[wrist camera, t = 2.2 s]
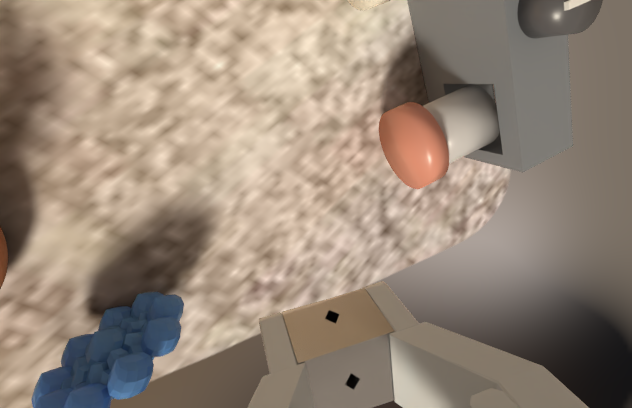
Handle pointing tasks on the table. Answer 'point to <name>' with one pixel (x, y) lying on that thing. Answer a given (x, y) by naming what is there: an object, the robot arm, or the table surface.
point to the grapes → (113, 355)
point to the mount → (498, 74)
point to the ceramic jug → (3, 257)
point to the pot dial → (556, 16)
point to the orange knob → (437, 133)
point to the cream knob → (366, 3)
